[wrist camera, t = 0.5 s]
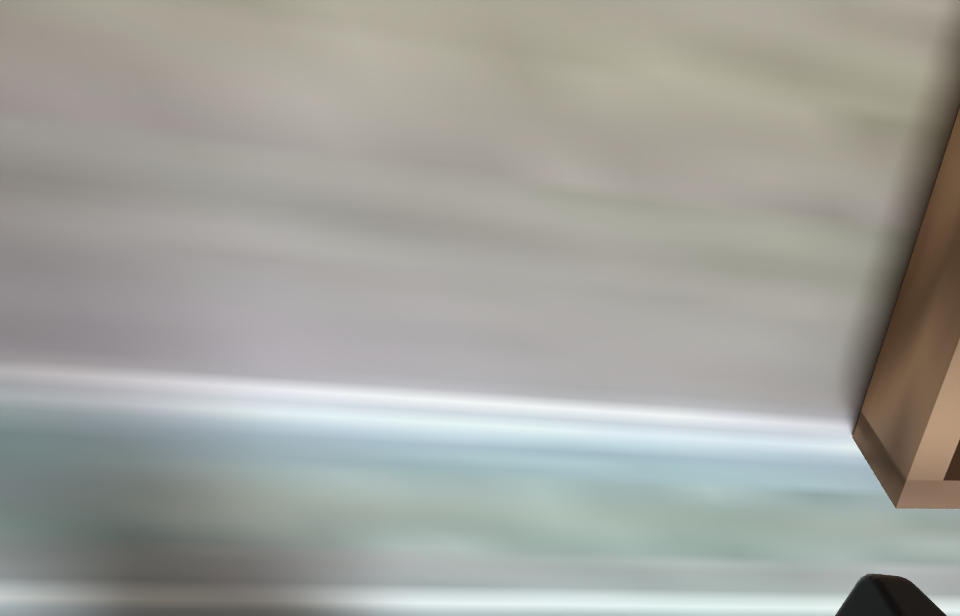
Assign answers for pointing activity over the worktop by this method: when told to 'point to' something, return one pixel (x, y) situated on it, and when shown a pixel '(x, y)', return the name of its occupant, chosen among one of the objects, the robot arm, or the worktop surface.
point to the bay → (922, 363)
